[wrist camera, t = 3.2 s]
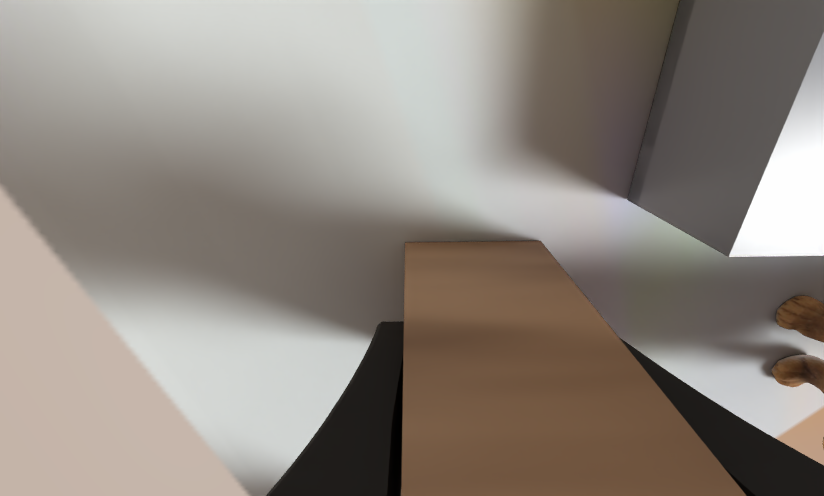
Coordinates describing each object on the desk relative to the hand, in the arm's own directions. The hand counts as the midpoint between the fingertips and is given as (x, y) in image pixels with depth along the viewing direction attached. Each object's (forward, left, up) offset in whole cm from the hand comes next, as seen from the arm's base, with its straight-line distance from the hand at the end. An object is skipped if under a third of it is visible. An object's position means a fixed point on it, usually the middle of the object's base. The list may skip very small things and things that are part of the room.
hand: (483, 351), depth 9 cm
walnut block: (0, 0, -2) cm, 2 cm away
